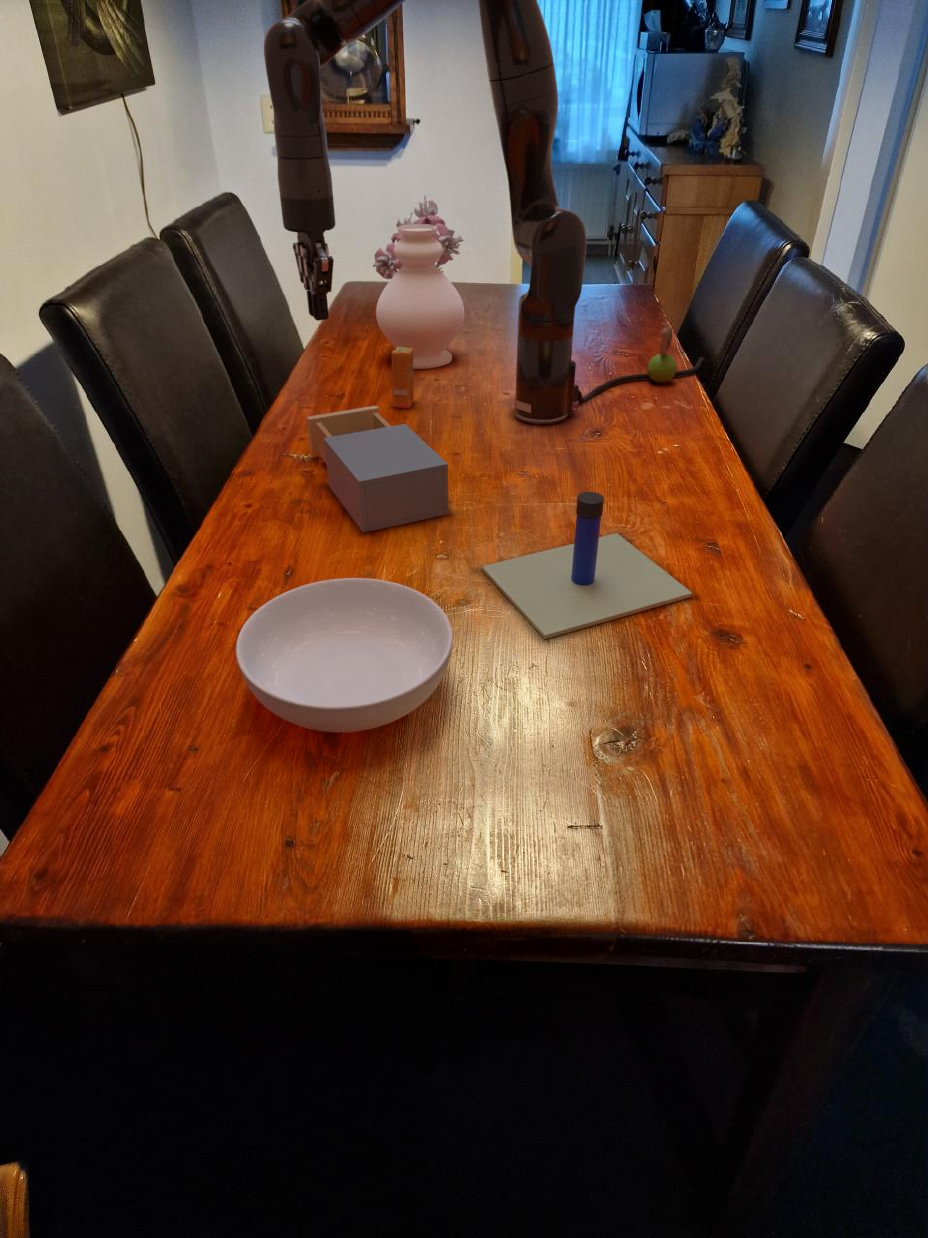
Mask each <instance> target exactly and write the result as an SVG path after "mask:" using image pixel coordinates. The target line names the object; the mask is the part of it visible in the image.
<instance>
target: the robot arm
mask: <svg viewBox="0 0 928 1238" xmlns="http://www.w3.org/2000/svg"><path fill="white" fill-rule="evenodd" d="M405 1H406V0H307V1H305V2H304V3H303V4H301V5H300V6H298V7H297V8H296V9H295V10H293V11H292V12H290V14H288V15H287V16H285V17H284V18H283V19H280V20H277V21H276V22H274V23H273V24H271V26H270V27H269V28H268V31H267V32H266V34H265V37H264V40H263V57H264V65H265V70H266V77H267V83H268V89H269V95H270V100H271V105H272V110H273V134H274V142H275V151H276V159H277V184H278V191H279V200H280V207H281V216H282V224H283V228H284V229H285V230H286V231H288V232H292V233H296V235H297V236H296V238H297V241H296V242H294V243H292V249H293V252H294V253H293V254H294V257H295V262H296V266H297V270H298V274H299V275H298V276H299V280H300V282H301V284H303V288H304V290H305V291H306V298H307V299H306V300H307V307H308V308H307V309H308V315H309V316H311V317H312V318H313V319H314V320H315V321H317V322H320V321H326V320H328V319H329V317H330V316H329V304H328V294H329V293H332V288H333V287H332V286H333V274H334V262H335V261H334V258H333V256H332V255H330V252H329V250H330V249H329V245H328V243H326V239H325V236H324V235H325V234H324V233H325V232H326V231H331V230H333V229H335V227H336V215H335V213H336V212H335V201H334V190H333V179H332V172H331V166H330V161H329V154H328V152H329V151H328V141H327V131H326V130H327V129H326V124H325V117H324V114H323V108H322V85H321V84H322V83H321V82H322V81H321V69H322V68H323V67H324V66H325V65H326V64H327V63H329V61H331V60H332V59H333V58H335V56H336V55H338V54H339V52H341V51H342V50H343V49H344V48H345V47H346V46H348V45H350V44H352V43H355V42H356V41H358V40H359V39H361V38H362V37H363V36H365V35H366V34H367V33H368V32H370V31H371V30H372V29H373V28H374V27H376V26H377V25H378V24H379V23H381V22H382V21H384V20H385V19H386V18H387V17H389V15H390V14H392V13H393V12H394V11H395V10H396V9H398V8H399V7H400V6H401V5H402V4H403V3H405ZM478 8H479V9H478V10H479V19H480V27H481V36H482V42H483V43H482V44H483V49H484V55H485V57H484V58H485V64H486V71H487V78H488V83H489V88H490V93H491V94H490V95H491V99H492V105H493V109H494V110H493V111H494V114H495V121H496V124H497V127H498V128H497V129H498V134H499V140H500V141H499V142H500V146H501V151H502V155H503V162H504V165H505V166H504V167H505V171H506V176H507V185H508V194H509V205H510V219H511V231H512V238H513V244H514V246H515V249H516V252H517V254H518V255H519V257H520V258H521V260H522V261H524V262H525V263H526V264H527V265H530V275H529V286H528V290H527V291H526V292H524V293H522V294H521V295H520V297H519V300H518V310H517V311H518V312H517V313H518V314H517V340H516V341H517V342H516V368H515V369H516V370H515V398H514V399H515V400H514V408H513V415H514V417H515V418H516V419H518V421H521V422H523V423H528V424H531V425H552V424H553V425H554V424H558V423H562V422H564V421H565V420H566V419H568V418H570V417H572V416H573V405H574V404H575V403H578V402H579V403H581V404H583V403H587V402H588V401H590V400H591V399H593V398H594V397H595V396H596V395H597V394H598V393H599V392H601V391H603V390H605V389H607V388H609V387H611V386H613V385H616V384H619V383H624V382H629V381H635V380H636V381H637V380H648V379H649V380H650V379H651V378H650V377H649V375H648V373H638V374H636V373H635V374H628V375H624V376H619V377H615V378H613V379H610V380H608V381H605V382H604V383H602V384H600V385H598V386H597V387H595V388H593V389H592V390H591V391H590V392H589V393H588V394H587V395H586V396H584V397H583V393H582V391H581V390H580V389H579V385H578V384H575V381H576V368H577V363H576V361H574V360H573V359H572V356H573V355H572V354H573V344H574V343H573V341H574V328H575V313H576V306H577V304H578V302H579V299H580V298H581V294H582V289H583V282H584V281H583V280H584V274H585V266H586V265H585V264H586V256H587V232H586V228H585V224H584V222H583V221H582V219H581V218H580V216H579V215H578V214H576V213H575V212H573V211H571V210H569V209H566V208H564V207H561V206H560V204H559V202H558V197H557V192H556V186H555V182H554V175H553V166H552V157H553V145H554V140H555V135H556V129H557V121H558V116H559V115H558V114H559V95H558V94H559V93H558V92H559V91H558V84H557V77H556V69H555V62H554V55H553V50H552V45H551V41H550V37H549V33H548V30H547V25H546V23H545V21H544V18H543V14H542V11H541V8H540V6H539V2H538V0H478ZM329 255H330V256H329ZM706 364H707V362H706V359H705V357H703V356H700V357H698V359H697V362H696V364H695V365H694V366H693V367H691V368H688V369H683V370H676V373H675V375H674V376H673V377H681V376H687V375H691V374H694V373H696V372H698V370H699V369H700V368H701V366H702V365H706Z"/></svg>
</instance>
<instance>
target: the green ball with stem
mask: <svg viewBox="0 0 928 1238" xmlns="http://www.w3.org/2000/svg"><path fill="white" fill-rule="evenodd" d="M661 326H662V327H664V328H662V329H661V331H660V340H659V353H657V354H655V355H654V356H652V357H651V359H650V360H649V362H648V363H647V367H646V369H647V374H648V375H649V377H650V379H651V380H652V381H653V382H655V383H658V384H664V383H668V382H669V381H670V380H672V379H673V378H674V377H675V376H674V375H675V373H676V371H677V369H678V368H677V366H678V365H677V362H676V360H675V358H674V357H673V356H672V355H670V354H669V349H670V347H671V344H672V340H673V328H672V327H671V326H669V323H665V322H662V323H661Z"/></svg>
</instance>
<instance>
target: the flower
mask: <svg viewBox="0 0 928 1238" xmlns="http://www.w3.org/2000/svg"><path fill="white" fill-rule="evenodd" d="M423 200H424V202H422V201H419V202H418V207H419V208H418V207H417V206H414V209H413V212H414V215H415V216H416V217H417V218H418V219H417V220H413V221H411V220H412V215H413V212H410V217H409V218H403V220H404V221H403V222H401V220H400V218H398V219H397V223H396V225H395V226H396V228H397V229H398V227H399V226H402V225H409V224H429V225H434V226H437V233H435V234H433V237H434V238H435V239H436V240H438V241H439V242H440V244H441V245H442V248H443V253H442V256H441V257H440V259H439V260H438V261H437V262H436V264H435V266H436V267H437V268H438V269H439V270H440V271H441V272H442V273H443V274H444V270H443V267H442V266H443V265H446V264H447V263H448V262H449V261H454V258H453V256H452V255H461V252H460V251H459V250H458V249H459V247H460V246H461V242H464V241H465V240H464V239H463V237H462V235H458V236H457V237H456V236H454V235H455V232H456V230H454V229H451V228H448V226H446V222H445V219H443V218H440V216H439V215H437V214H439V207H438V205H437V203H436V202H435V201H434V200H432V199H431V200H427V198H426V195H424V199H423ZM438 233H439V234H438ZM402 237H403V235H402V234H400V233H398V232H395V233H393V234H392V235H391V238H390V240H391V243H388V244H386V248H385V251H384V250H383V249H382V248H381V247H379V248H378V249H377V250H376V251H375V253H374V263H373V265H372V267H373V268H375V271H376V273H377V274H379V275H380V277H382V278H383V279H385V280H391V279H392V277H393V276H394V275H395V274H396V273H397V272H398V270H399V269H400V268H401V267H402V266H403V264H402V263H401V262H400V261H399V260H398V259H397V258H396V256H395V254H394V247H395V245H396V243H397V242H398V241H399V240H400V239H401V238H402ZM395 242H396V243H395Z"/></svg>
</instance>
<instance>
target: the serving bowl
mask: <svg viewBox="0 0 928 1238" xmlns="http://www.w3.org/2000/svg"><path fill="white" fill-rule="evenodd" d="M453 644H454V633H453V627H452V624H451V621H450V620H449V618H448V616H447V614H446V613H445V611H444V610H443V609H442V608H441V607H440V605H439V604H437V603H436V602H435V601H434V600H433V599H431V598H430V597H429V596H427V595H425V594H424V593H422V592H420V591H418V590H416V589H414V588H412V587H409V586H406V585H403V584H400V583H398V582H393V581H390V580H389V581H388V580H384V579H377V578H368V577H345V578H343V577H342V578H333V579H332V578H331V579H326V580H321V581H315V582H311V583H307V584H304V585H301V586H298V587H295V588H292V589H290V590H288V591H285V592H283V593H281V594H279V595H277V596H275V597H273V598H272V599H270V600H268V601H267V602H265V603H264V604H263V605H261V606H260V607H259V608H258V609H256V610H255V611H254V612H253V613H252V614H251V615H250V617H248V618H247V620H246V621H245V622H244V624H243V626H242V627H241V629H240V631H239V634H238V636H237V638H236V644H235V657H236V658H235V659H236V663H237V665H238V668H239V671H240V674H241V675H242V678H243V680H244V682H245V684H246V686H247V687H248V689H249V690H250V692H251V693H252V695H253V696H254V697H255V699H257V701H258V702H259V703H260V704H261V705H263V707H264V708H266V709H267V710H268V711H270V712H271V713H272V714H274V715H276V716H277V717H278V718H280V719H282V720H284V721H285V722H286V721H287V722H288V723H290V724H293V725H296V726H299V727H300V728H304V729H308V730H313V731H318V732H319V731H320V732H323V733H324V732H326V733H355V732H362V731H367V730H371V729H375V728H379V727H382V726H385V725H389V724H390V723H393V722H395V721H397V720H399V719H401V718H403V717H405V716H406V715H408V714H410V713H411V712H413V711H414V710H416V709H417V708H418V707H420V706H421V705H422V704H423V703H424V702H425V701H426V700H428V698H429V697H430V696H431V695H432V694H433V693H434V692H435V691H436V689H437V688H438V686H439V685H440V683H441V682H442V681H443V678H444V677H445V674H446V672H447V669H448V667H449V664H450V660H451V656H452V651H453V647H454V646H453Z"/></svg>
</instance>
